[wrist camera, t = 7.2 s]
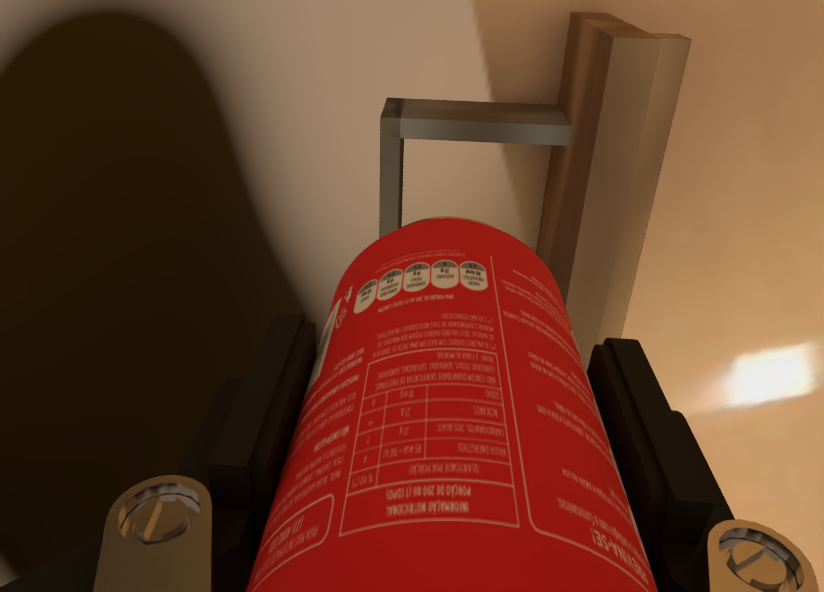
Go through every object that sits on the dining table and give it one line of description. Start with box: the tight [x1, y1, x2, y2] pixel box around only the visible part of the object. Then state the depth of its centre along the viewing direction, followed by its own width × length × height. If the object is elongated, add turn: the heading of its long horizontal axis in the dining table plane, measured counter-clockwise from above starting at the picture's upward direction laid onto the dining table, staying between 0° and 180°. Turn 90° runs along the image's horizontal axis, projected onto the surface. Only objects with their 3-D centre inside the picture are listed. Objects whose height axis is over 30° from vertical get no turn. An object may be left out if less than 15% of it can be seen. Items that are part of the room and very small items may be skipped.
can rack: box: [379, 12, 691, 372], centre depth 27 cm, size 10×16×8 cm, turn 178°
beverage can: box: [246, 217, 658, 592], centre depth 10 cm, size 5×5×12 cm
